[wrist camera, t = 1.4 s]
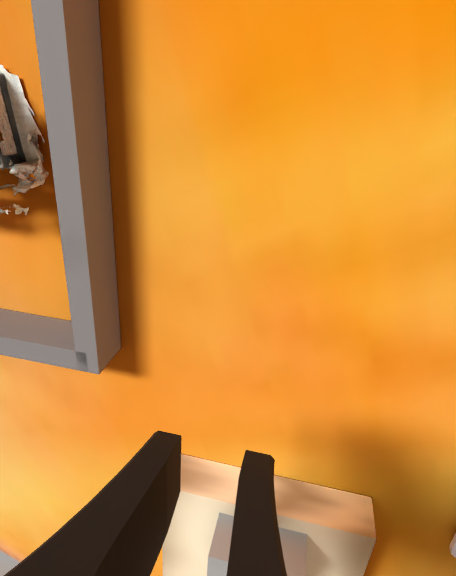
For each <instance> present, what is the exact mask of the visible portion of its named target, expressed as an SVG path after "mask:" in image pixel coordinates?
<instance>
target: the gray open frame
mask: <svg viewBox="0 0 456 576" xmlns="http://www.w3.org/2000/svg"><path fill="white" fill-rule="evenodd" d="M31 4H32V12H33V20H34V28H35V36H36V44H37V52H38V60H39V68H40V76H41V84H42V91H43V99H44V107H45V115H46V123H47V131H48V139H49V147H50V155H51V163H52V171H53V178H54V186H55V194H56V202H57V210H58V218H59V226H60V234H61V242H62V250H63V258H64V265H65V273H66V281H67V289H68V297H69V305H70V313H71V321H68V320H62V319H57V318H51V317H45V316H40V315H34V314H29V313H23V312H17V311H12V310H6V309H1V308H0V355H5V356H10V357H15V358H20V359H25V360H30V361H35V362H40V363H45V364H50V365H55V366H60V367H65V368H70V369H75V370H80V371H85V372H90V373H95V374H100V373H101V371H102V370H103V369H104V368H105V367H106V365H107V364H108V363H109V362H110V361H111V359H112V358H113V357H114V356H115V355H116V353H117V352H118V351H119V350H120V349H121V338H120V323H119V308H118V292H117V277H116V262H115V247H114V232H113V217H112V201H111V186H110V171H109V156H108V141H107V125H106V110H105V95H104V80H103V65H102V50H101V34H100V19H99V4H98V0H31Z"/></svg>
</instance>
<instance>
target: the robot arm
mask: <svg viewBox="0 0 456 576" xmlns="http://www.w3.org/2000/svg"><path fill="white" fill-rule="evenodd" d="M274 461H275V460H274V459H273V457H272V456H271V455H267V454H262V453H258V452H253V451H249V450H246V452H245V455H244V459H243V463H242V466H241V470H240V474H239V479H238V487H237V495H236V503H235V511H234V520H233V528H232V536H231V544H230V552H229V560H228V568H227V575H226V576H287V573H286V568H285V562H284V557H283V551H282V545H281V539H280V533H279V527H278V520H277V512H276V502H275V491H274ZM180 490H181V436H180V435H176V434H171V433H167V432H162V431H157V432H155V433H154V434H153V435H152V436H151V438H150V439H149V440H148V441H147V442H146V443H145V445H144V446H143V447H142V448H141V449H140V450H139V451H138V452H137V453H136V455H135V456H134V457H133V458H132V459H131V460H130V461H129V462H128V463H127V464H126V465H125V466H124V467H123V469H122V470H121V471H120V472H119V473H118V474H117V475H116V476H115V477H114V478H113V479H112V480H111V481H110V482H109V483H108V484H107V485H106V486H105V487H104V488H103V489H102V490H101V491H100V492H99V493H98V494H97V495H96V496H95V497H94V498H93V499H92V500H91V501H90V502H89V503H88V504H87V505H86V506H84V507H83V508H82V509H81V510H80V511H79V512H78V513H77V514H76V515H75V516H74V517H72V518H71V519H70V520H69V521H68V522H67V523H66V524H65V525H64V526H63V527H62V528H60V529H59V530H58V531H57V532H56V533H55V534H54V535H53V536H51V537H50V538H49V539H48V540H47V541H46V542H44V543H43V544H42V545H41V546H40V547H39V548H37V549H36V550H35V551H34V552H33V553H31V554H30V555H29V556H28V557H27V558H25V559H24V560H23V561H22V562H20V563H19V564H18V565H17V566H15V567H14V568H13V569H12V570H10V571H9V572H8V573H7V574H5V575H4V576H150V574H151V572H152V569H153V567H154V565H155V562H156V560H157V557H158V555H159V553H160V550H161V548H162V545H163V543H164V541H165V538H166V536H167V533H168V530H169V527H170V524H171V521H172V517H173V514H174V511H175V508H176V504H177V501H178V498H179V494H180ZM449 548H450V552H451V554H452V555H453V556H454V557H456V533H455V535H454V537H453V539H452V541H451V543H450V546H449Z"/></svg>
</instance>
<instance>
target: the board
mask: <svg viewBox="0 0 456 576" xmlns="http://www.w3.org/2000/svg"><path fill="white" fill-rule="evenodd" d="M240 470H241V467H236V466H232V465H228V464H223V463H219V462H215V461H210V460H206V459H201V458H197V457H193V456H188V455H184V454H181V490H180V494H179V498H178V501H177V504H176V508H175V511H174V514H173V517H172V521H171V524H170V527H169V530H168V533H167V536H166V538H165V541H164V543H163V545H162V549H163V576H207V565H208V555H209V551H210V547H211V543H212V539H213V535H214V531H215V527H216V523H217V519H218V516H219V512H220V513H224V514H228V515H232V516H234V511H235V503H236V495H237V487H238V479H239V474H240ZM274 491H275V502H276V512H277V520H278V527H280V528H284V529H288V530H292V531H296V532H300V533H304V534H307V547H306V572H305V576H363V575H364V573H365V570H366V567H367V564H368V562H369V559H370V556H371V553H372V550H373V548H374V545H375V542H376V539H377V538H376V530H375V521H374V513H373V505H372V497H368V496H364V495H359V494H355V493H350V492H346V491H342V490H337V489H333V488H328V487H324V486H320V485H315V484H311V483H307V482H302V481H298V480H293V479H289V478H285V477H280V476H276V475H274Z"/></svg>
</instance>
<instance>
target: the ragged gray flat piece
mask: <svg viewBox="0 0 456 576" xmlns="http://www.w3.org/2000/svg"><path fill="white" fill-rule="evenodd" d="M24 96H25V95H24V94H23V89H22V86H21V83H20V80H19V77H18V75H14V74H10V73H8V72H7V71H6V69H5V68H3V65H0V131H1V132H2V137H3V139H4V140H3V141H1V140H0V168H2V170H3V169H5V168H7V169H9V170H10V169H11V168H12V169H11V170H10V171H9V173H11V174H14V176H18V177H19V179H18V180H19V183H18V186H15V187H14V185H15V184H12V185H11V184H5V186H2V187H0V189H2V188H7V187H13V188H12V189H13V190H16V191H17V192H22V193H24V192H25V193H26V191H28V189H29V188H34V187H36V186H39V185H43V184H44V182H45V179H43V178H47V175H48V173H49V172H46V171H45V170H42V167H43V166H41V165H42V164H41V159H42V161H43V162H44V158H43V155H42V154H41V152H40V151H39V148H38V147H39V145H38V143H37V142H38V141H37V140H38V139H37V138H38V136H37V135H40V134H41V133H40V131H39V129H38V126H37V125H36V123H35V121H34V119H33V117H32V116H31V113H30V111H29V110H31V112H32V114H33V115H34V112H33V111H32V109H31V108H30V106H29V105H28V102H27V100H26V99H25V97H24ZM28 108H29V109H28ZM34 116H35V115H34ZM41 137H42V135H41ZM42 138H43V137H42ZM43 140H44V139H43ZM34 142H36V145H34ZM43 143H44V144H45V140H44V142H43ZM36 147H37V150H38V151H39V154H40V155H41V156H39V154H38V151H37V150H36ZM34 165H38V166H37V167H36V166H34ZM34 168H37V169H36V170H35V169H34ZM43 169H44V167H43ZM18 171H20V172H18ZM43 171H44V172H43ZM22 172H25V173H26V172H27V173H29V174H32V173H33V175H34V176H35V177H36V178H35V179H34V180H33V182H32V181H30V180H29V179H25V178H27V177H28V175H29V174H25V173H24V174H23V173H22ZM34 172H36V173H34ZM17 173H18V174H17ZM16 174H17V175H16ZM23 175H24V176H23ZM16 178H17V177H16ZM20 178H21V179H22V180H24V181H21V180H20ZM29 178H30V179H33V178H31V177H29ZM26 180H28V181H26ZM34 181H36V182H34ZM19 190H20V191H19ZM21 190H22V191H21ZM23 190H24V191H23ZM17 192H16V193H17ZM16 193H15V194H16ZM15 194H13V195H15ZM9 206H10V205H9ZM12 206H13V205H12ZM14 206H15V208H16V210H15V214H21V213H22V210H23V212H25V213H26V214H25V215H27V211H29V210H28V209H29V207H27V208H22V207H21V208H18V207H20V206H19V205H15V204H14ZM2 208H3V207H2ZM10 208H11V207H10ZM25 210H26V211H25ZM4 211H5V212H6V211H7V212H6V214H8V210H2V209H1V208H0V212H1V213H4ZM9 212H11V211H9Z"/></svg>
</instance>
